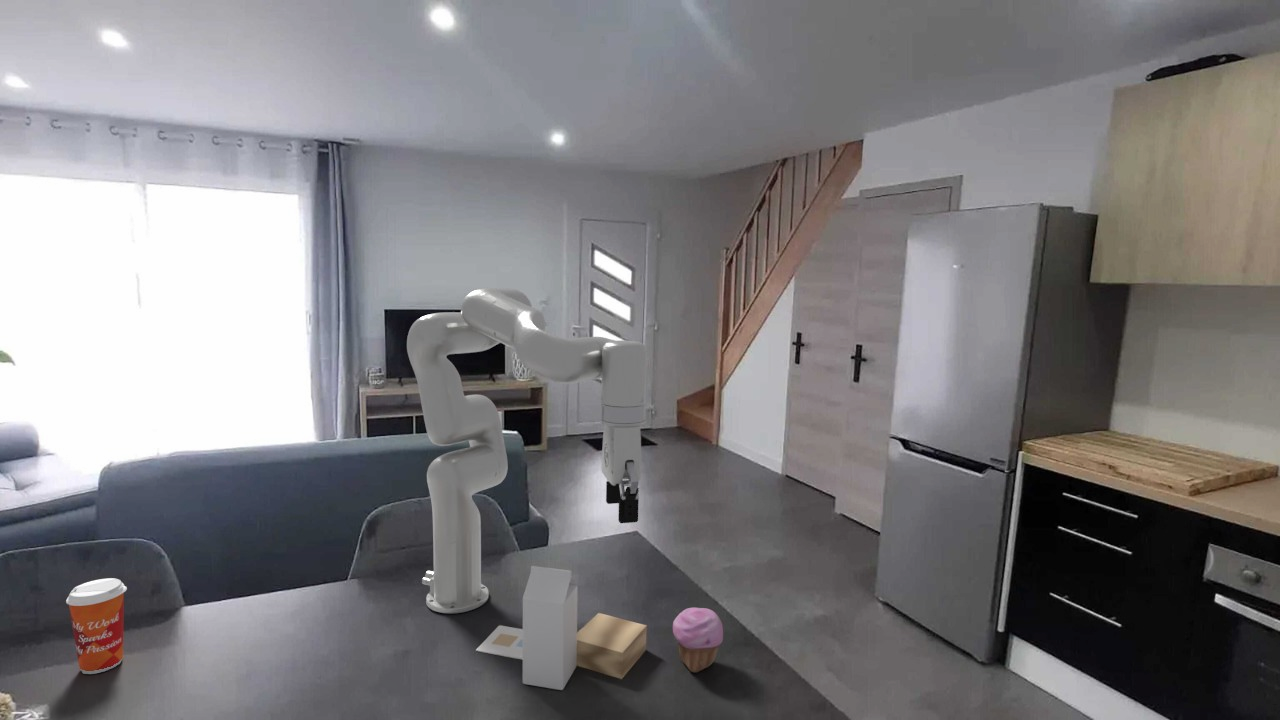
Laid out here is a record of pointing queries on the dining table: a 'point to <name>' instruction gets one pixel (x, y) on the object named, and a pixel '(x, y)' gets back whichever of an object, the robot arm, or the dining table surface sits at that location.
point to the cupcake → (698, 637)
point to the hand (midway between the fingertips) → (621, 512)
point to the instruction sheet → (504, 642)
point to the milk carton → (549, 628)
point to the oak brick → (610, 645)
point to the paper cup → (98, 622)
